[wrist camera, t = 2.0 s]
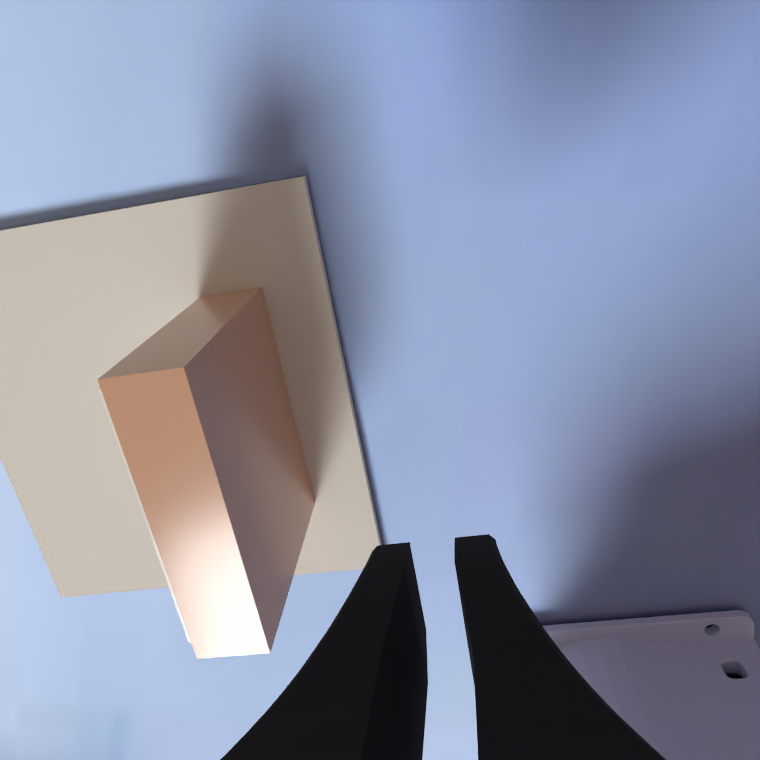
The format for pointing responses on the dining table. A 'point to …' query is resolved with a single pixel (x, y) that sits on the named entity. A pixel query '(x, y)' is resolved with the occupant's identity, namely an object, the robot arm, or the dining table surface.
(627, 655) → the robot arm
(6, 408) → the mat
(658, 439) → the dining table surface
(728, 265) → the dining table surface
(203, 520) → the block
